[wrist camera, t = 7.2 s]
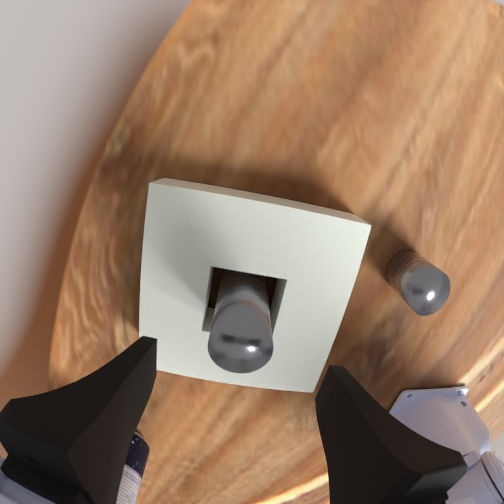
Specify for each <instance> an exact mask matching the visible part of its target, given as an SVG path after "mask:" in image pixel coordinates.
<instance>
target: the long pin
mask: <svg viewBox="0 0 504 504" xmlns="http://www.w3.org/2000/svg"><path fill="white" fill-rule="evenodd" d="M208 353H209V355H210V357H211V359H212V360H213V362H214V363H215V364H216V365H217V366H219V367H220V368H222V369H224V370H226V371H229V372H232V373H250V372H254V371H256V370H259V369H260V368H262V367H263V366H265V365H266V364H267V363H268V362H269V360H270V359H271V357H272V354H273V337H272V329H271V320H270V311H269V303H268V294H267V285H266V280H265V277H264V276H263V275H257V274H252V273H246V272H240V271H235V270H229V269H228V270H227V271H226V272H225V273H224V275H223V276H222V279H221V283H220V288H219V292H218V297H217V302H216V306H215V311H214V316H213V321H212V325H211V330H210V335H209V340H208Z"/></svg>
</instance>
